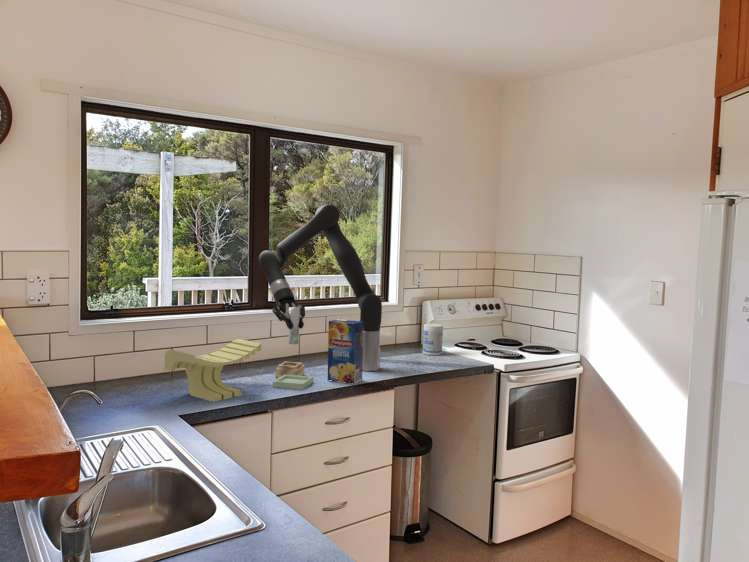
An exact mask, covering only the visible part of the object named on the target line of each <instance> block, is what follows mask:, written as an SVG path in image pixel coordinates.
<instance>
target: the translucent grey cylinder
mask: <svg viewBox="0 0 749 562" xmlns="http://www.w3.org/2000/svg"><path fill="white" fill-rule="evenodd" d="M289 319H290V320H291V322H292V324H293V328H292V329H289V328H288V344H289V345H299V344H300V328H299V320H300V307H289Z"/></svg>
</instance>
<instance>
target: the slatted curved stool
mask: <svg viewBox="0 0 749 562" xmlns="http://www.w3.org/2000/svg"><path fill="white" fill-rule="evenodd" d="M256 352H262V342H257V341H251V340H247V339H241V338H236V339H235V340H232V341H230V343H228V344H225V345H224V347H221V348H219V349H218V350H216V351H213V352H211V353H208V354H202V355H196V356H195V355H194V354H192V353H187V352H183V351H182V352H181V351H180V350H179V351H178V350H174V349H168V350H166V352H165V354H164V370H166V371H168V372H169V371H170V372H174V371H176V370H177V369H185V373H186V376H187V380H188V383H187V384H188V393H189V395H190V397H191V396H192V397H194V396H195V398H198V397H199V399H201V398H203V399H202V400H204V399H206V400H205V401H207V400H209V401H208V402H211V401H216V402H219V401H218V400H220V401H222V400H227V399H226V398H228V399H231V398H230V397H232V396H236V397H239V396H238V395H240V396H243V395H242V394H243V393H242V390H241V389H238V388H236V387H235V388H234V387H232V386H229V385H227V384H226V383H225V382H223V380H222V379H221V374H222V373H221V372H222V370H223V369H224V366H228V365H233V364H238V363H243V362H244V360H245V359H249V358H250V356H254V355H256ZM232 398H233V397H232Z"/></svg>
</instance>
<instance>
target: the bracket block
mask: <svg viewBox="0 0 749 562" xmlns="http://www.w3.org/2000/svg"><path fill="white" fill-rule="evenodd" d="M283 375H297V376H303V375H304V376H305V365H304V364H303V362H297V361H296V362H295V361H283V362H282V363H279V364H278V365H277V367H276V368H275V379H278V378H280V377H281V376H283Z"/></svg>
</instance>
